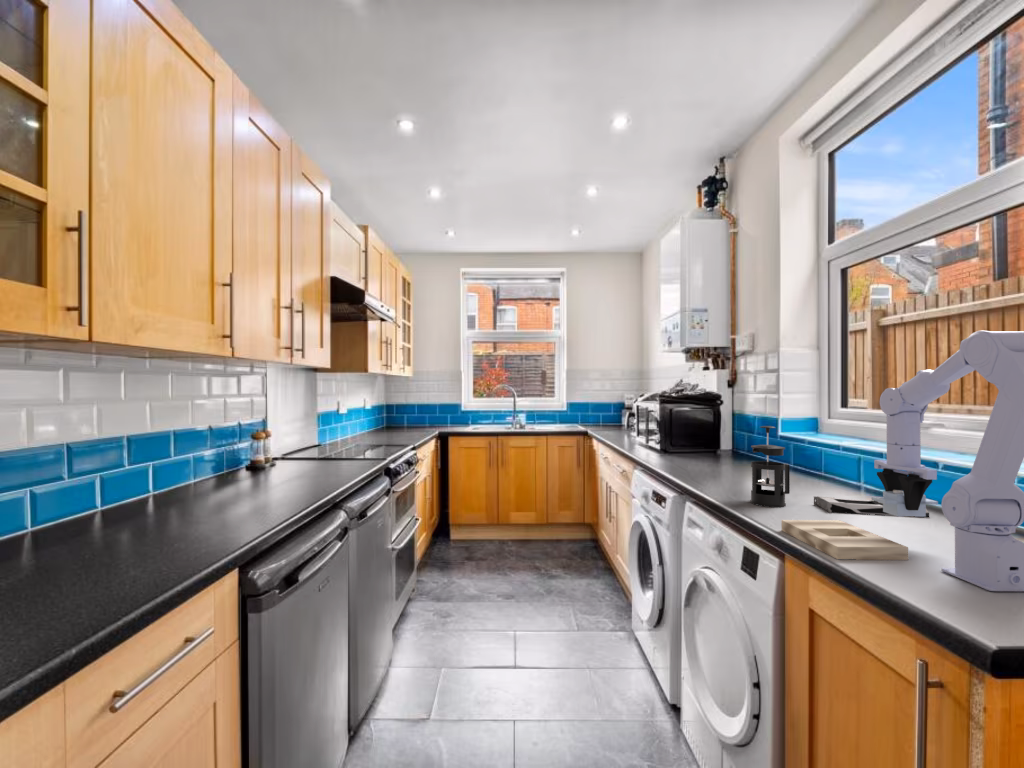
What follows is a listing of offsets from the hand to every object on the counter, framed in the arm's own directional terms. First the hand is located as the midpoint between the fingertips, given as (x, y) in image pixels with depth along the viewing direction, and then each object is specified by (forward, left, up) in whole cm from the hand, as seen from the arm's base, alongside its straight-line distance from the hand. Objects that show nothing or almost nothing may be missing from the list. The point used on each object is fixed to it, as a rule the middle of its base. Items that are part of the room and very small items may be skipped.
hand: (903, 507), depth 105 cm
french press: (+39, +8, -9) cm, 41 cm away
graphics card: (+31, -16, -9) cm, 36 cm away
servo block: (0, 0, -1) cm, 1 cm away
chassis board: (+1, +13, -8) cm, 16 cm away
